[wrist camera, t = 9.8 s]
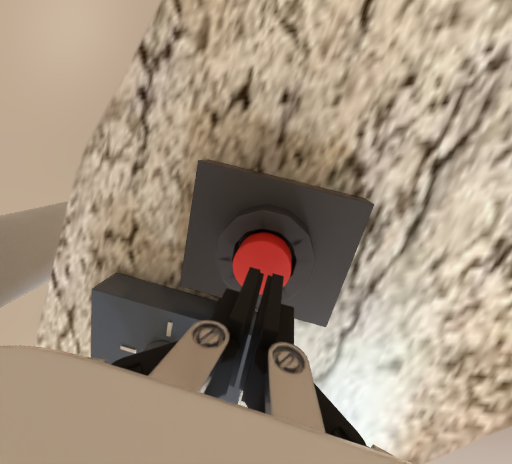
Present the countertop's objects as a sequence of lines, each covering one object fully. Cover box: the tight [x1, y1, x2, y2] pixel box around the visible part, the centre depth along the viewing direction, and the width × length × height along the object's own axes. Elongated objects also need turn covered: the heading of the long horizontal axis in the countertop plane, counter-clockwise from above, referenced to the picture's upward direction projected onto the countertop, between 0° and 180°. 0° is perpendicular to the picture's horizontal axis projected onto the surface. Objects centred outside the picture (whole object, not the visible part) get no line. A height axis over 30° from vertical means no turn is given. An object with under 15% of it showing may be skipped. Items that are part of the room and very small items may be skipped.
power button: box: [233, 232, 291, 294], centre depth 16 cm, size 4×4×2 cm
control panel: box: [91, 273, 257, 404], centre depth 23 cm, size 14×10×3 cm
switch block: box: [180, 160, 374, 327], centre depth 18 cm, size 12×10×4 cm
